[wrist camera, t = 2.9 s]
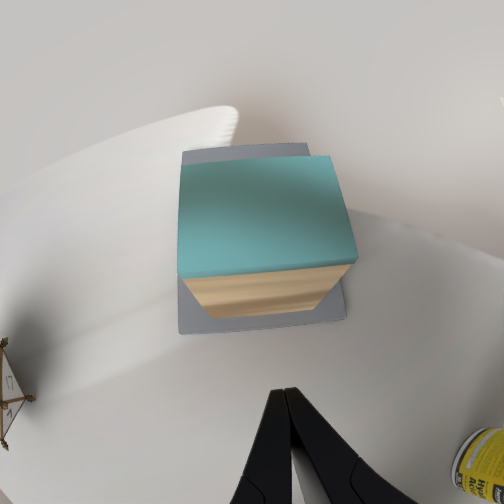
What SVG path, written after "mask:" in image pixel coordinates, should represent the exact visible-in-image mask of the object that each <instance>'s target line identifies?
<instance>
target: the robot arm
mask: <svg viewBox="0 0 504 504" xmlns="http://www.w3.org/2000/svg"><path fill="white" fill-rule="evenodd" d="M358 456H359V455H358V454H357V453H356V452H355V451H354V450H353V449H352V448H351V447H350V446H349V445H348V444H347V443H346V441H345V440H344V439H343V438H342V437H341V436H340V435H339V434H338V433H337V432H336V431H335V430H334V429H333V427H332V426H331V425H330V424H329V423H328V422H327V421H326V420H325V419H324V417H323V416H322V415H321V414H320V413H319V412H318V411H317V410H316V409H315V407H314V406H313V405H312V404H311V403H310V402H309V401H308V399H307V398H306V397H305V396H304V395H303V394H302V393H301V391H300V390H299V389H298V388H296V387H292V388H285V389H284V390H283V389H275V390H271V391H270V393H269V397H268V400H267V403H266V406H265V409H264V412H263V416H262V419H261V422H260V425H259V428H258V431H257V434H256V437H255V440H254V443H253V445H252V448H251V451H250V454H249V457H248V460H247V463H246V465H245V468H244V471H243V474H242V475H243V476H241V479H240V481H239V484H238V486H237V489H236V491H235V493H234V496H233V498H232V500H231V502H230V504H292V459H293V463H294V466H295V470H296V473H297V476H298V480H299V483H300V487H301V490H302V493H303V497H304V500H305V503H306V504H419V503H417V502H415V501H414V500H412V499H411V498H409V497H408V496H407V495H405V494H404V493H402V492H401V491H399V490H398V489H397V488H395V487H394V486H392V485H391V484H390V483H388V482H387V481H386V480H385V479H383V478H382V477H381V476H380V475H378V474H377V473H376V472H375V471H374V470H373V469H372V468H371V467H370V466H369V465H368V464H367V463H366V462H365V461H364V460H363V459H362V458H361V457H358Z"/></svg>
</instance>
